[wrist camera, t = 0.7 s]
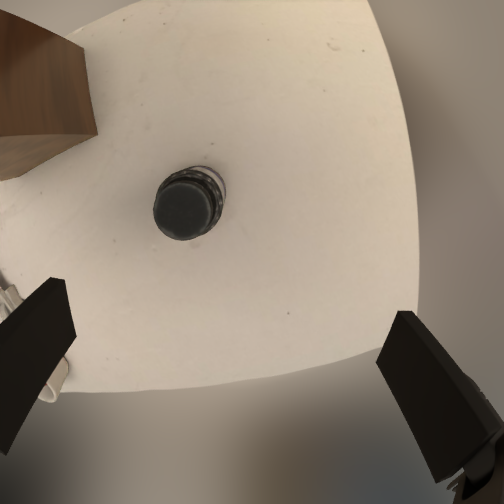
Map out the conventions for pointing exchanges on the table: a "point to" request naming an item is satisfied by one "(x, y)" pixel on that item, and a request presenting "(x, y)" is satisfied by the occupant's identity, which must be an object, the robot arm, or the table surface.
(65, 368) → the cup
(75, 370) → the table surface
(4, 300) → the zipper pull
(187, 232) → the pill bottle
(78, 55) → the stand
